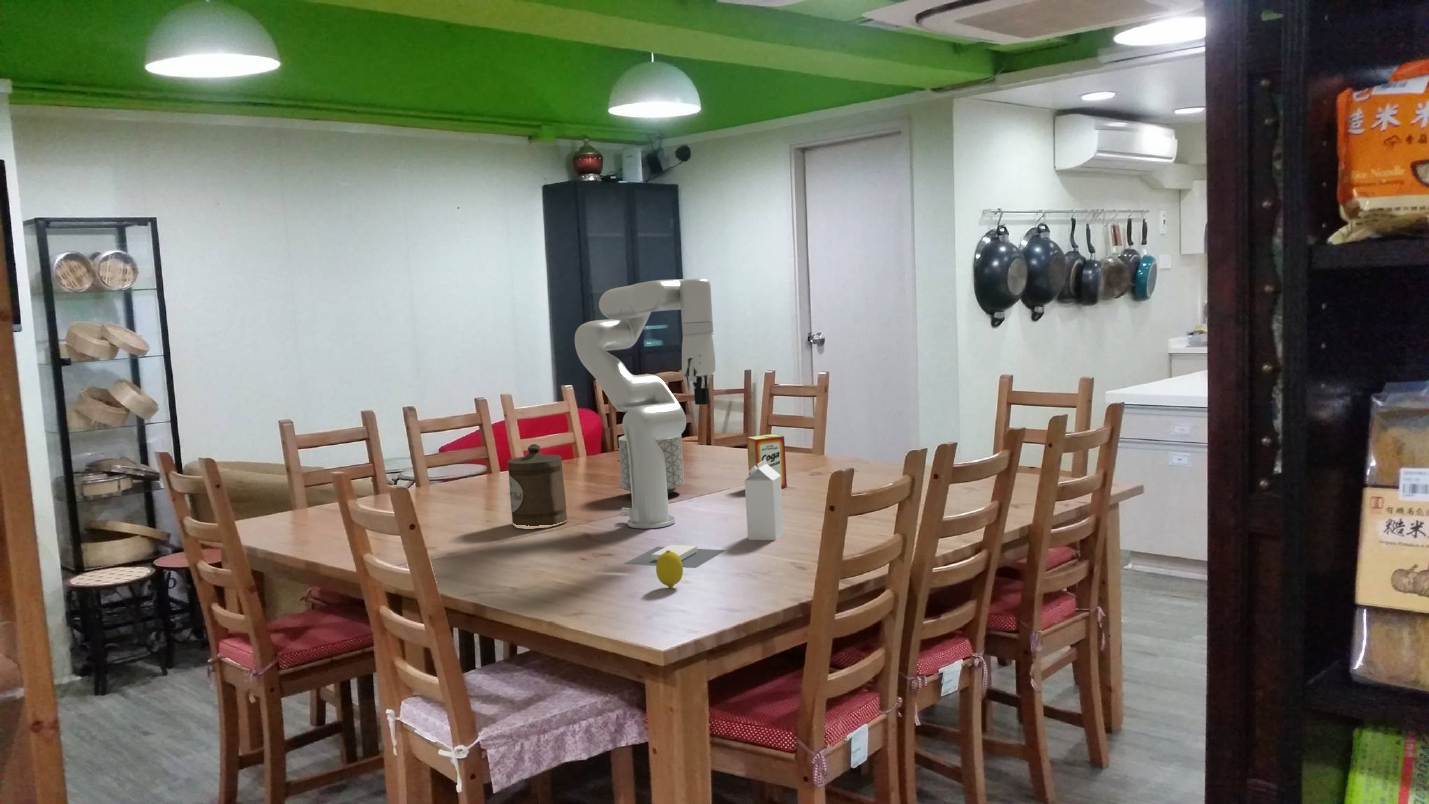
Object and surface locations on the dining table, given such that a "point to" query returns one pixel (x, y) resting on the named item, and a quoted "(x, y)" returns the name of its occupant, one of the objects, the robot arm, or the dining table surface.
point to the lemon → (669, 568)
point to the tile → (676, 551)
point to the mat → (690, 562)
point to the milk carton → (764, 503)
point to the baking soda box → (768, 453)
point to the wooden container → (537, 489)
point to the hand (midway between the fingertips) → (702, 404)
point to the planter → (672, 462)
